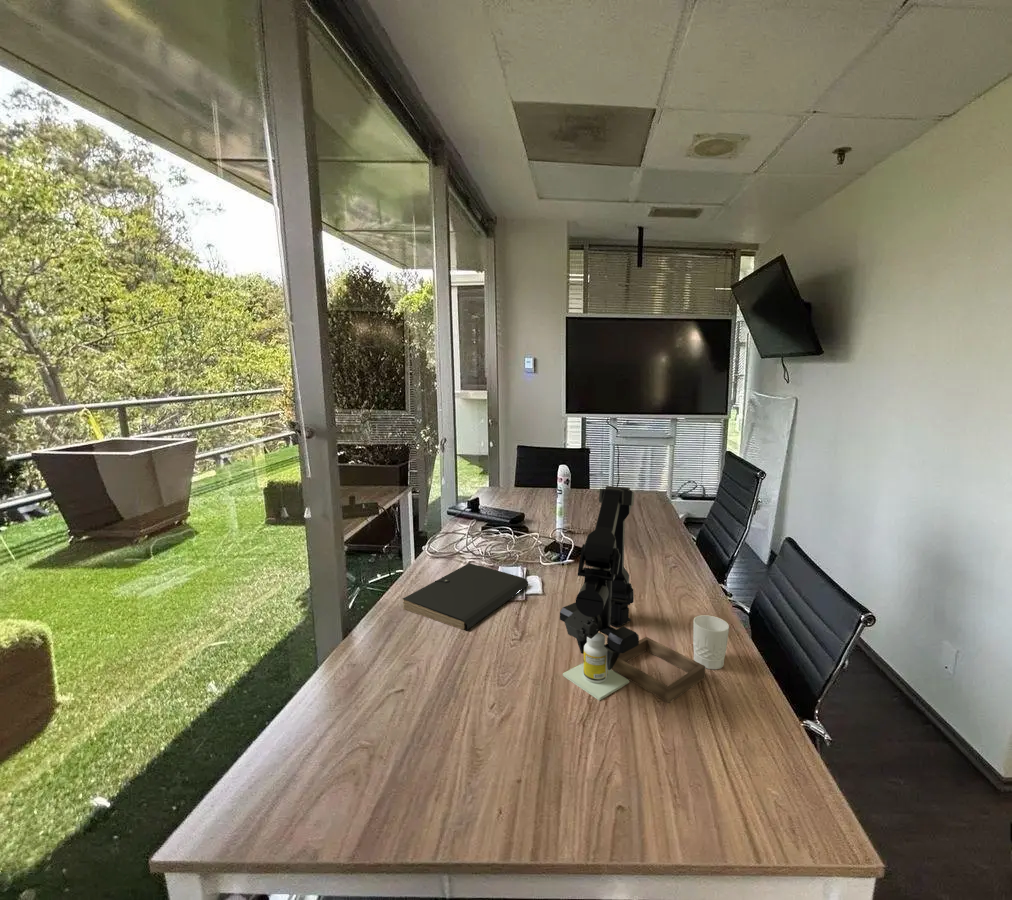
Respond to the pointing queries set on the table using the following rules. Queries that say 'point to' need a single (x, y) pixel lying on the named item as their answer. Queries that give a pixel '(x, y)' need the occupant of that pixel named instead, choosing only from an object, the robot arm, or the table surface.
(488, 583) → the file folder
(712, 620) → the white cup
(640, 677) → the wooden frame
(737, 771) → the table surface
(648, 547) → the table surface
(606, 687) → the sage tile
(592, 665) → the supplement bottle
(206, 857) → the table surface
